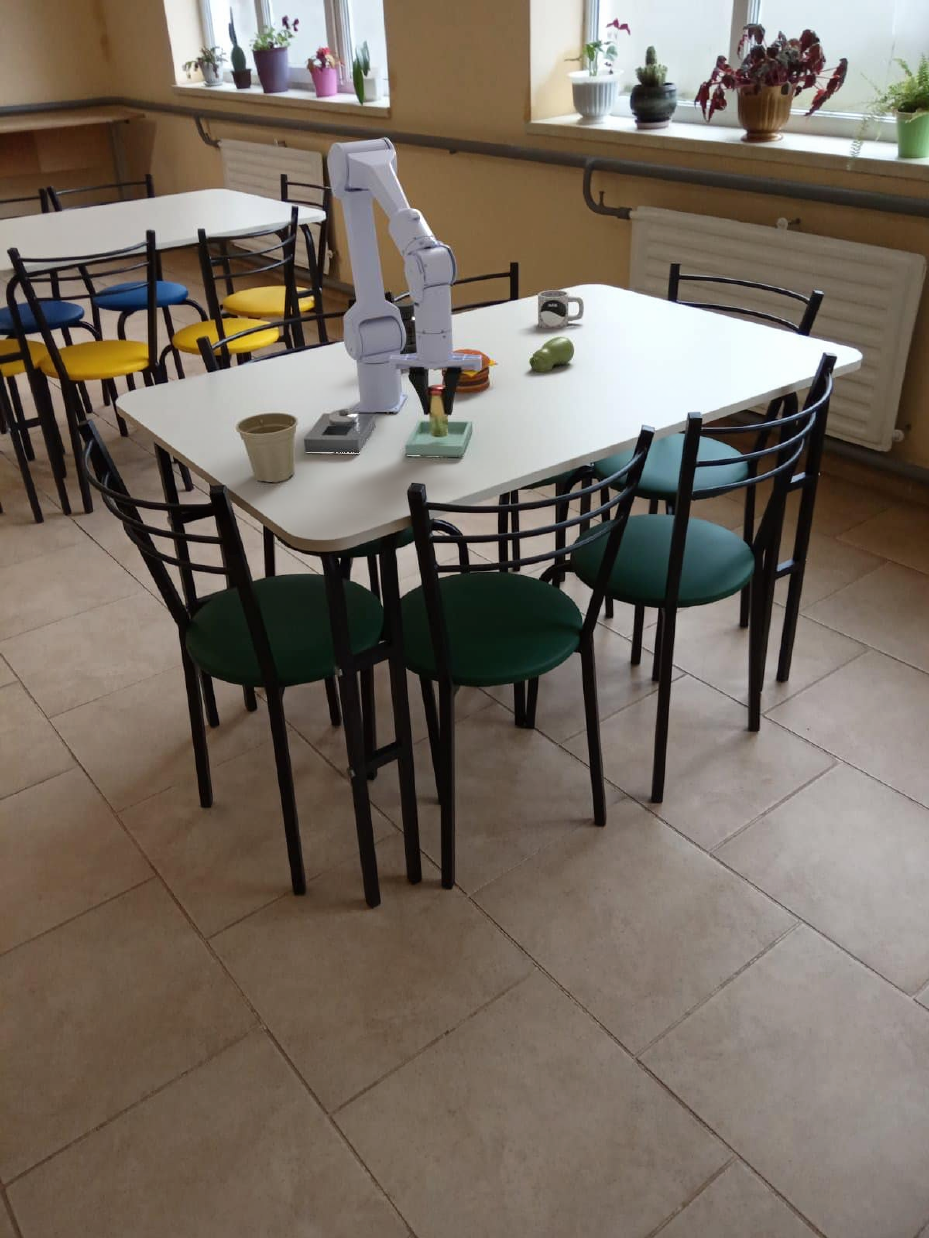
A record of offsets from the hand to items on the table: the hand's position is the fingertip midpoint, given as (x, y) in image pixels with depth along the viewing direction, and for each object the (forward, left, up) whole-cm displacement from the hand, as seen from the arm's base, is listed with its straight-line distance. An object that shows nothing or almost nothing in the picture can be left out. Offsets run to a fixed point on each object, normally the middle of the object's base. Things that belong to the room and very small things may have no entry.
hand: (438, 413), depth 167 cm
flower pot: (+14, -24, -6) cm, 28 cm away
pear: (-42, +15, -6) cm, 45 cm away
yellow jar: (0, 0, -3) cm, 4 cm away
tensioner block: (-1, -17, -5) cm, 18 cm away
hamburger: (-30, 0, -6) cm, 31 cm away
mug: (-72, +15, -6) cm, 74 cm away
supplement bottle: (-43, -14, -6) cm, 46 cm away
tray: (0, 0, -5) cm, 5 cm away
